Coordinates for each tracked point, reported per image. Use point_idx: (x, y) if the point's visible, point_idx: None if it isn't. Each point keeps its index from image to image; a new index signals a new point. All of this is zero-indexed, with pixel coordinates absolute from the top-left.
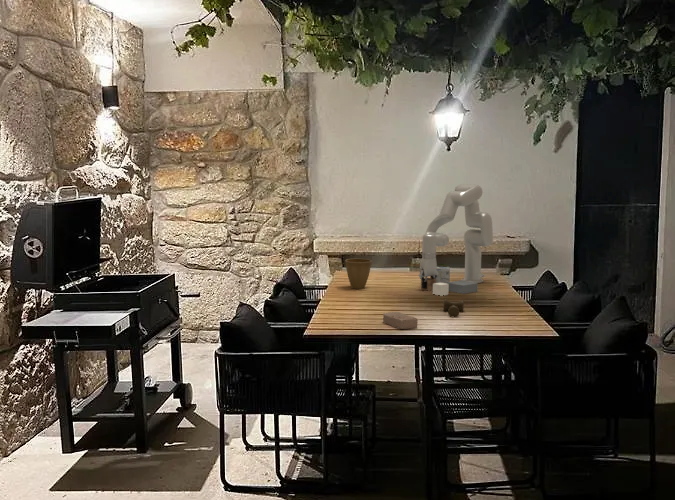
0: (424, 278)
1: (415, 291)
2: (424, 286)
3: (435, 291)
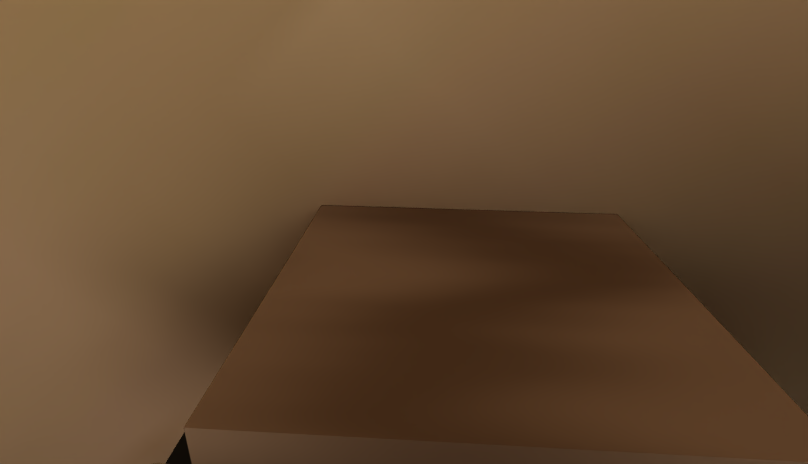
0: (476, 458)
1: (38, 283)
2: None
3: None
